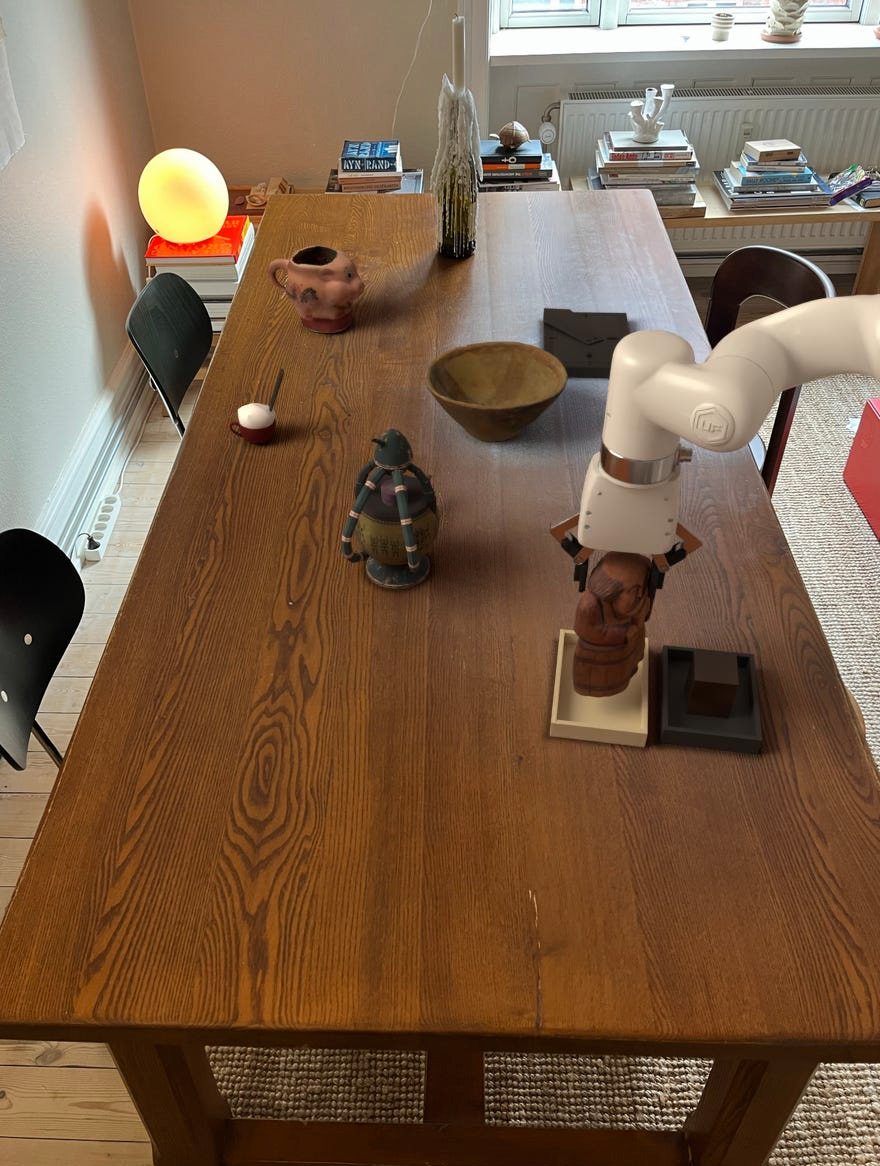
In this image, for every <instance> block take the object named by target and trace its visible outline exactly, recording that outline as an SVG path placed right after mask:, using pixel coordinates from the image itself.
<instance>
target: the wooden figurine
mask: <svg viewBox="0 0 880 1166" xmlns="http://www.w3.org/2000/svg"><path fill="white" fill-rule="evenodd" d="M651 563H652V559H651V558H650V557H648V556H646V555H645V554H641V553H629V552H618V551H607V552H606V553H605V554H604V555H603V556H602V557H601V558H600V559H599V560H598V562H597V563H596V565H595V566H594V567H593V569H592V570H591V572H590V575H589V577H588V580H587V584H586V588H585V591H584V592H583V593H581V594H582V595H581V596H580V599H579V601H578V603H577V606H576V609H575V615H574V622H573V630H574V631H575V633H576V634H577V635H578V637H579V638H578V640H577V645H576V648H575V652H574V657H573V666H572V678H573V687H574V691H575V692H576V693H578V694H579V695H582V696H591V697H597V698H601V697H610V696H613V695H616V694H619V693H621V692H623V691H624V690H625V689H626V688H627V687H628V685H629V682H630V679H631V678H632V677H633V676H634V675H635V674H636V673H637V671H638V663H639V662H640V661H642V660H643V658H644V650H645V638H646V625H645V623H647V622H649V620H650V618H651V616H652V612H653V608H654V607H653V606H654V602H655V599H654V600H652V599H650V598H648V584H649V574H650V569H651Z"/></svg>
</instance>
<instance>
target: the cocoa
mask: <svg viewBox="0 0 880 1166" xmlns="http://www.w3.org/2000/svg"><path fill="white" fill-rule="evenodd" d="M284 370H285V369H283V368H280V370H279V372H278V375H277V379H276V381H275V386H274V389H273V391H272V395H271V398H270V401H269V404H268V405H267V404H263V403H260V402H251V403H249V404H246V405H243V406H241V407H239V408H238V409H237V417H238V418H237V421H231V422H230V423H229V430H230V431H231V432H232V433H233V434H234V435H236V436H238V437H240V438H244V440H245V441H247V442H248V443H251V444H254V445H255V444H256V445H261V444H265V443H267V442H268V441H270V440H271V439H272V438H273V437H274V435H275V432H276V426H277V425H276V424H277V421H276V420H277V419H276V415H277V413H276V410H275V409H274V407H275V404H276V400H277V397H278V394H279V391H280V387H281V385H282V382H283V378H284V376H285V371H284ZM233 426H237V427H238V429H239V432H238V431H236V430H235V429H233Z"/></svg>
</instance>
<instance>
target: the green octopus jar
mask: <svg viewBox="0 0 880 1166" xmlns="http://www.w3.org/2000/svg"><path fill="white" fill-rule="evenodd" d="M370 442H371V443H375V444H376V445H375V448H374V453H373V459H371V461H370V460H369V461H367V463H365V465H364V466H363V467H362V468H361V469H359V471H358V475H357V478H356V479H355V483H354V484H355V485H354V487H353V493H354V503H353V505H352V507H351V509H350V512H349V514H348V517H347V520H346V522H345V525H344V528H343V531H342V536H341V542H340V545H341V552H342V554H343V556H344V558H345V559H346V560H347V561H348V562H350V563H351V564H354V563H355V564H356V563H360V562H366V565H365V569H366V573H367V576H368V577H369V579H371V581H372V582H373V583H375V584H377V585H379V586H381V587H384V588H388V589H397V590H398V589H399V590H401V589H406V588H411V587H413V586H416V585H418V584H420V583H421V582H422V581H424V580H425V579H426V577H428V574H429V573H430V566H431V564H430V563H431V562H430V560H429V558H428V556H427V555H426V554H427V553H428V552H429V551H430V549H431V548H432V546H433V544H434V543H435V541H436V540H437V539H438V534H439V528H440V521H441V515H440V514H441V513H440V509H439V506H438V504H437V496H436V492H435V488H434V487H433V485H432V482H431V480H432V477H433V475H431V474H429V473H424V471H423V470H422V469H421V467H418V466H416V465H415V464H413V460H414V451H413V449H412V447H411V445H410V442H409V440H408V439H407V437H406V436H405V435H404V434H403V433H402V432H401V431H399V430H397V429H395V428H392V427H391V428H390V429H388V430H386V431H385V432H383V434H382V435H381V436H380V437H379V438H378V437H377V438H372V439H371V440H370ZM375 468H376V469H375ZM374 469H375V470H374ZM372 471H373V473H372V474H371V475H370V473H371V472H372ZM407 471H409V472H410V473H412V474H413V476H412V475H408V474H406V472H407ZM369 475H370V476H369ZM354 534H355V538H356V539H355V540H356V542H357V543H358V545H359V546H360V547H361V549H360V550H359V551H358V552H355V551H354V549H353V545H352V540H353V536H354Z"/></svg>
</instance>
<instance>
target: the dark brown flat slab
mask: <svg viewBox="0 0 880 1166" xmlns="http://www.w3.org/2000/svg"><path fill="white" fill-rule="evenodd" d="M542 314H543V316H542V347H543V348H542V349H543V350H545V351H547V352H549V353H551V354H552V355H554V356H555V357H556V358H558V359H559V360H560V362H561V363H562V364H563V366H564V368H565V369H566V372H567V375H568V378H580V379H581V378H584V379H588V378H589V379H610V372H611V364H612V358H613V353H614V350H615V348H616V346H617V344H618V343H619V342H620V341H621V340H622V339H623V338H624V337H625V336H627V335H629V334H630V328H629V321H628V315H627V312H598V311H597V312H595V311H591V312H590V311H573V310H571V309H570V308H553V307H543V312H542Z"/></svg>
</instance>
